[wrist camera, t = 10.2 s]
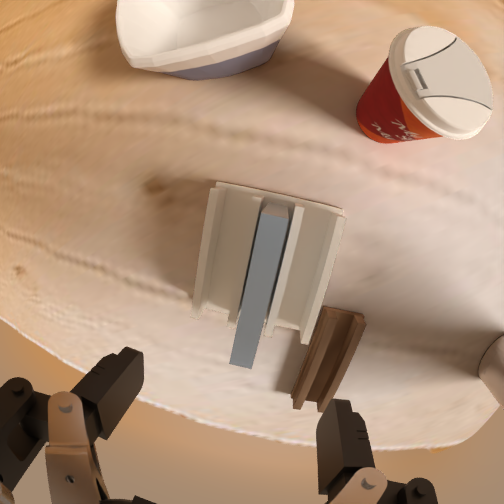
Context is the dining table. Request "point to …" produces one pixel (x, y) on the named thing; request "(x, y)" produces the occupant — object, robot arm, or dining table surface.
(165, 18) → the bowl
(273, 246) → the grey-blue flat slab
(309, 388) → the stand
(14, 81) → the dining table surface
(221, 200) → the rack
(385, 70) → the coffee cup
